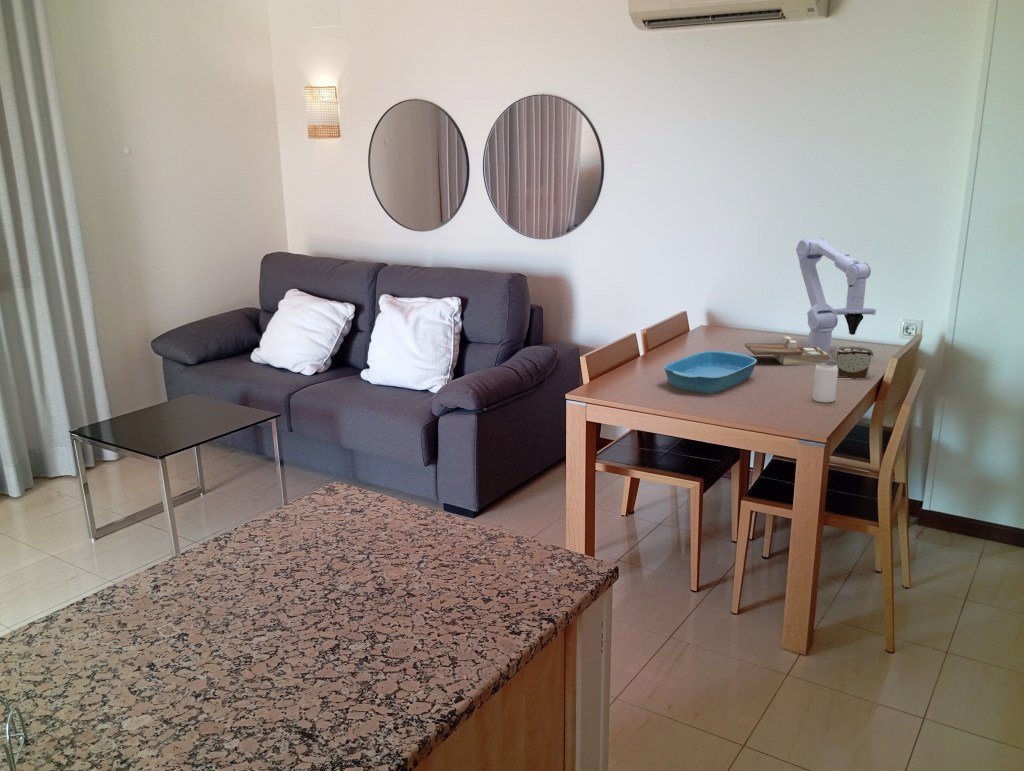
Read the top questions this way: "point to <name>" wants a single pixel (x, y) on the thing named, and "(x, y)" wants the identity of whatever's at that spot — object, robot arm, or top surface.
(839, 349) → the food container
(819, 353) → the sage cube
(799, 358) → the beige open tray
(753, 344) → the lid
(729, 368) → the casserole dish
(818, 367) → the can
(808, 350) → the cream cube
